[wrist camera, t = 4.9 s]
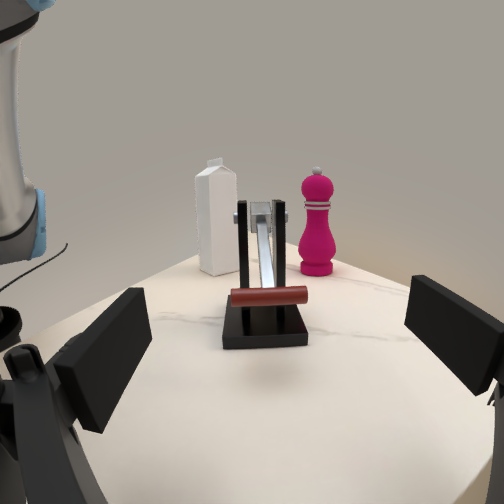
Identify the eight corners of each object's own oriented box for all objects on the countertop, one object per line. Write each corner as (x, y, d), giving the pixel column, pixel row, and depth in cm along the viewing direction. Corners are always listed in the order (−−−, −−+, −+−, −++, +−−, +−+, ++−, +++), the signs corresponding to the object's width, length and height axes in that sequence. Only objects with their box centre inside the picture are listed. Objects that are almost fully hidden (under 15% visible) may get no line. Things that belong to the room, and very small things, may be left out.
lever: (306, 311, 23) (309, 290, 21) (232, 314, 23) (230, 293, 21) (285, 218, 34) (285, 201, 32) (234, 220, 34) (233, 202, 32)
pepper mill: (300, 265, 59) (299, 167, 55) (334, 267, 57) (336, 167, 53) (295, 276, 53) (295, 165, 48) (334, 278, 51) (336, 165, 46)
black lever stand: (307, 345, 29) (312, 203, 26) (223, 349, 29) (213, 206, 26) (291, 302, 41) (291, 198, 38) (228, 304, 41) (223, 199, 37)
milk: (213, 276, 54) (207, 157, 48) (199, 269, 58) (193, 160, 53) (240, 270, 57) (236, 157, 52) (224, 264, 62) (220, 160, 57)
